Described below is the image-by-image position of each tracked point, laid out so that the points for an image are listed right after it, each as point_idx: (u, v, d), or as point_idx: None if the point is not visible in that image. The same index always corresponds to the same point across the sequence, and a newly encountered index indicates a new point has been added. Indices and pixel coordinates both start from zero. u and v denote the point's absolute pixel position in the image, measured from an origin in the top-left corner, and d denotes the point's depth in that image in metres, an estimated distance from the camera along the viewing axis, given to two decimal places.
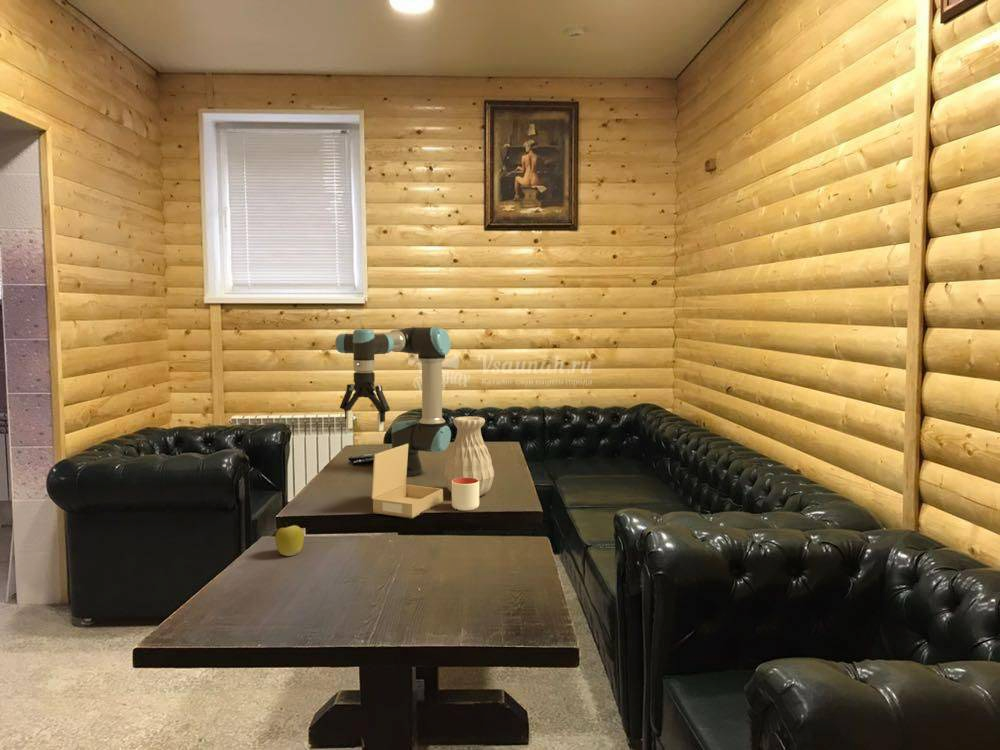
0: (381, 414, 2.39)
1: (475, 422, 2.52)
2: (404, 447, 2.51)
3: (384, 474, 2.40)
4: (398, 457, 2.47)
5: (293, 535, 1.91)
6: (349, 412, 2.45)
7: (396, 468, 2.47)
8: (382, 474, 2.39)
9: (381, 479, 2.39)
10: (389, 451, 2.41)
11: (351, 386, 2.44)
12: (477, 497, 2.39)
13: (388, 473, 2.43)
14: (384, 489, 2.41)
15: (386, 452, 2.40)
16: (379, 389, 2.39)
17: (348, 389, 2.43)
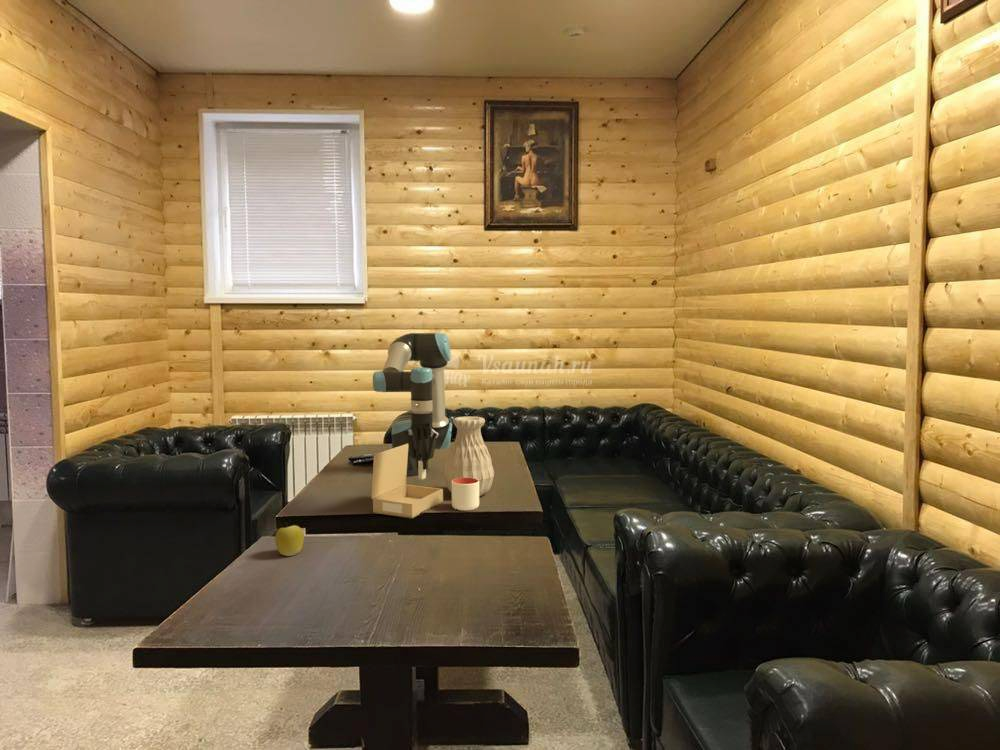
0: (424, 461, 2.33)
1: (475, 422, 2.52)
2: (404, 447, 2.51)
3: (384, 474, 2.40)
4: (398, 457, 2.47)
5: (293, 535, 1.91)
6: None
7: (396, 468, 2.47)
8: (382, 474, 2.39)
9: (381, 479, 2.39)
10: (389, 451, 2.41)
11: (409, 431, 2.34)
12: (477, 497, 2.39)
13: (388, 473, 2.43)
14: (384, 489, 2.41)
15: (386, 452, 2.40)
16: (435, 437, 2.30)
17: (408, 435, 2.34)
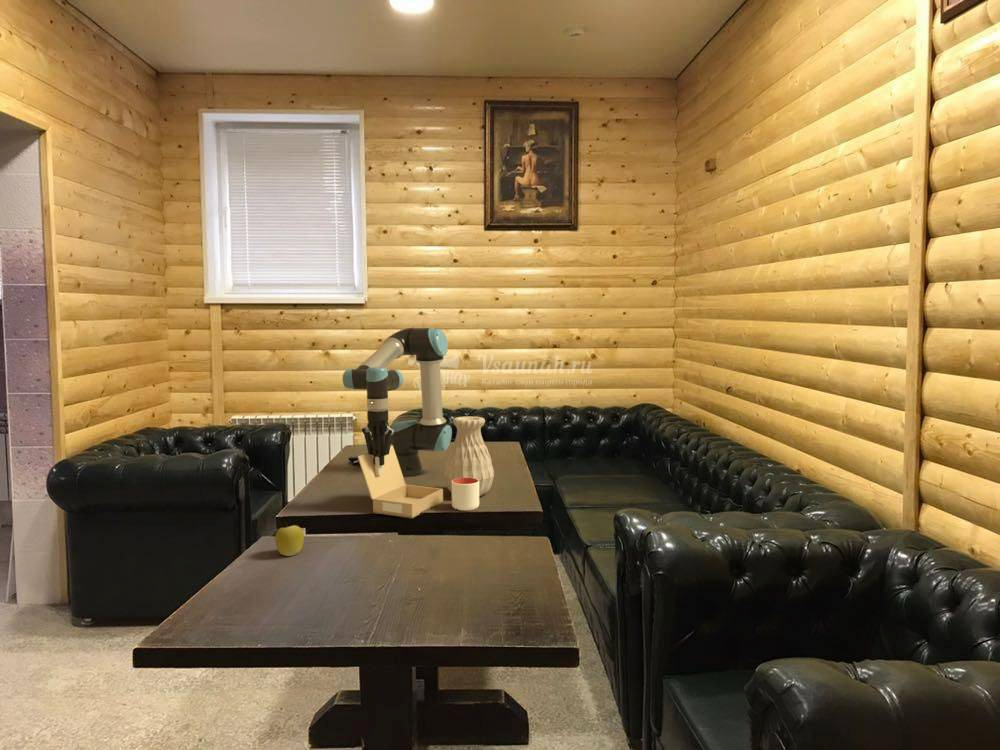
0: (380, 458, 2.40)
1: (475, 422, 2.52)
2: None
3: (376, 475, 2.41)
4: (385, 458, 2.50)
5: (293, 535, 1.91)
6: None
7: (388, 469, 2.49)
8: (374, 474, 2.40)
9: (375, 479, 2.40)
10: None
11: (366, 428, 2.42)
12: (477, 497, 2.39)
13: (381, 474, 2.44)
14: (382, 489, 2.42)
15: None
16: (391, 434, 2.38)
17: (365, 432, 2.41)
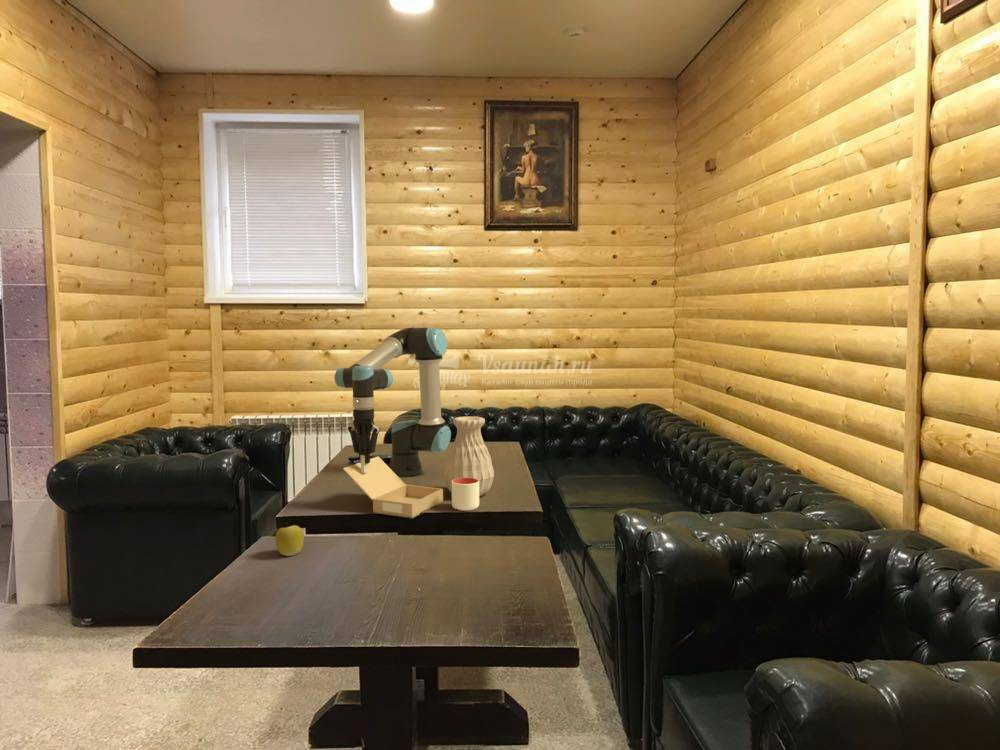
0: (366, 456, 2.42)
1: (475, 422, 2.52)
2: (375, 459, 2.56)
3: (370, 480, 2.43)
4: (374, 466, 2.52)
5: (293, 535, 1.91)
6: None
7: (381, 474, 2.50)
8: (367, 480, 2.42)
9: (369, 484, 2.41)
10: (359, 463, 2.47)
11: (351, 426, 2.44)
12: (477, 497, 2.39)
13: (374, 479, 2.45)
14: (381, 491, 2.42)
15: (356, 465, 2.45)
16: (376, 432, 2.40)
17: (351, 430, 2.44)
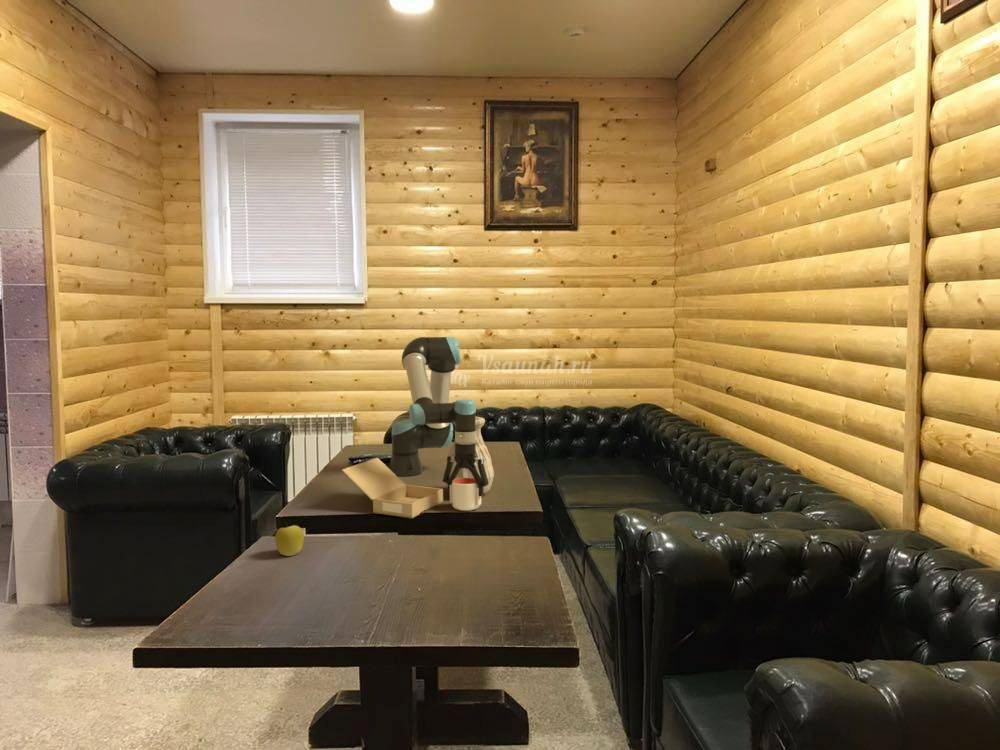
0: (480, 488, 2.38)
1: None
2: (374, 460, 2.56)
3: (369, 481, 2.43)
4: (374, 467, 2.52)
5: (293, 535, 1.91)
6: None
7: (380, 475, 2.50)
8: (366, 481, 2.42)
9: (369, 484, 2.41)
10: (358, 465, 2.48)
11: (451, 458, 2.42)
12: None
13: (374, 479, 2.45)
14: (381, 491, 2.42)
15: (355, 466, 2.46)
16: (481, 462, 2.37)
17: (449, 461, 2.41)
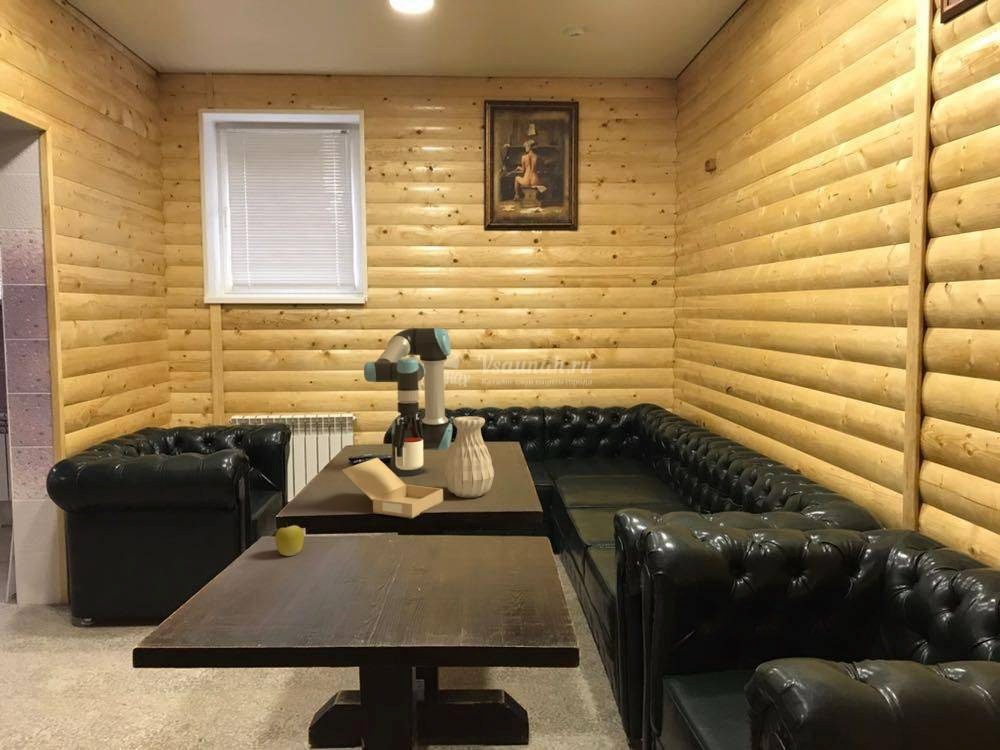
0: None
1: (475, 422, 2.52)
2: (374, 460, 2.56)
3: (369, 481, 2.43)
4: (374, 467, 2.52)
5: (293, 535, 1.91)
6: None
7: (380, 475, 2.50)
8: (366, 481, 2.42)
9: (369, 484, 2.41)
10: (358, 465, 2.48)
11: None
12: None
13: (374, 479, 2.45)
14: (381, 491, 2.42)
15: (355, 466, 2.46)
16: (396, 422, 2.33)
17: None
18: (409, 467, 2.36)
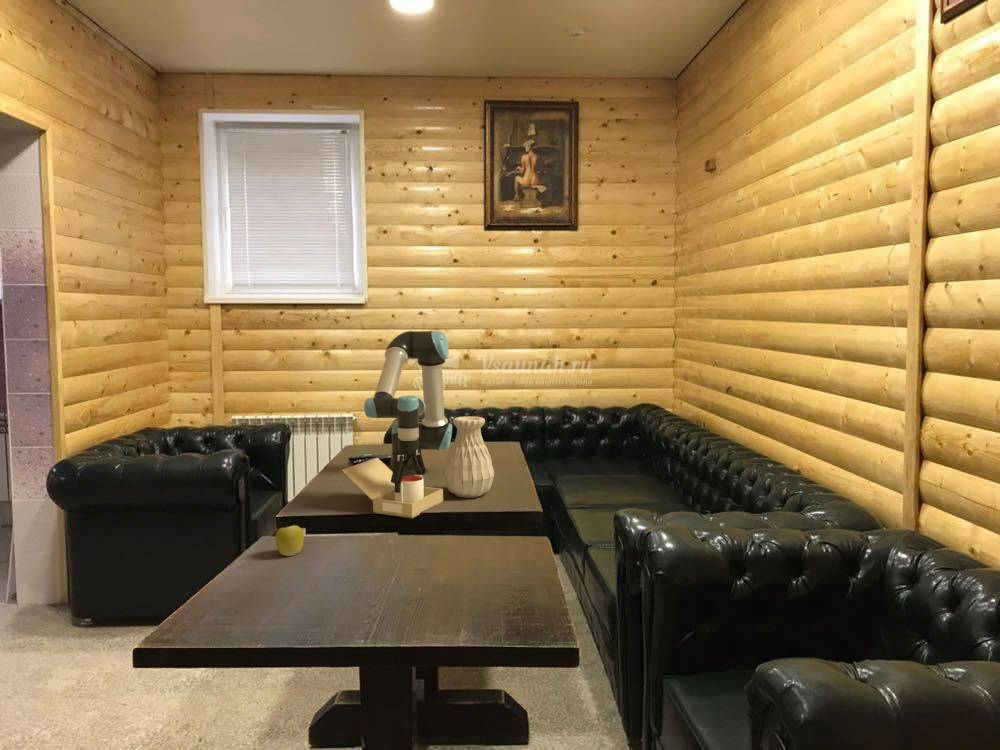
0: None
1: (475, 422, 2.52)
2: (374, 460, 2.56)
3: (369, 481, 2.43)
4: (374, 467, 2.52)
5: (293, 535, 1.91)
6: None
7: (380, 475, 2.50)
8: (366, 481, 2.42)
9: (369, 484, 2.41)
10: (358, 465, 2.48)
11: None
12: None
13: (374, 479, 2.45)
14: (381, 491, 2.42)
15: (355, 466, 2.46)
16: (397, 459, 2.34)
17: None
18: None
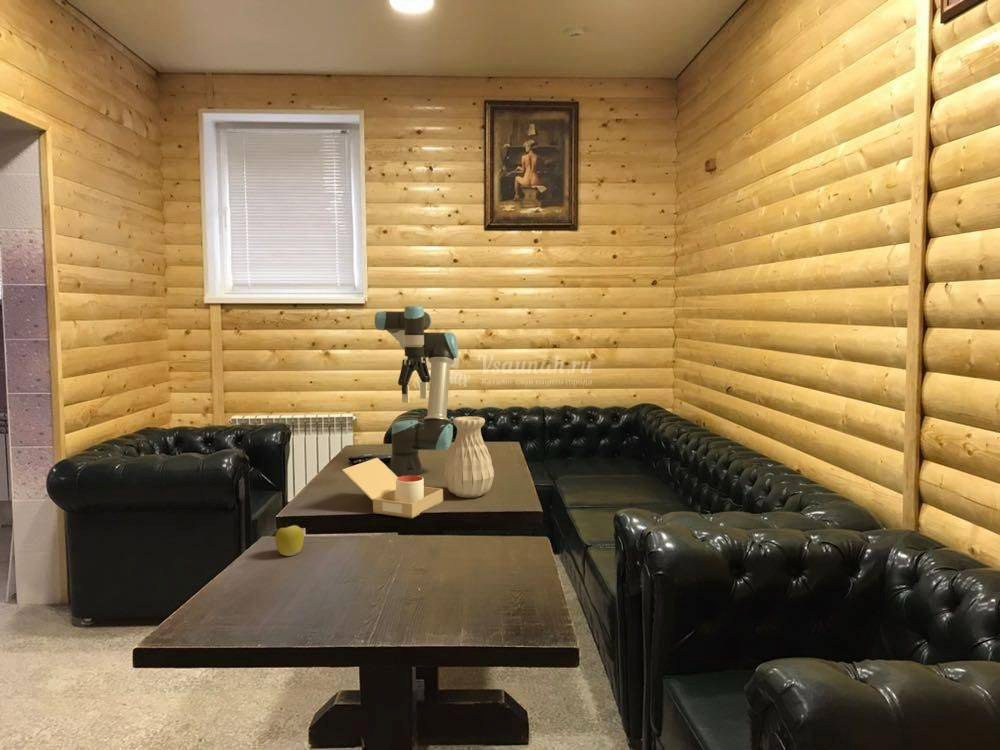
0: None
1: (475, 422, 2.52)
2: (374, 460, 2.56)
3: (369, 481, 2.43)
4: (374, 467, 2.52)
5: (293, 535, 1.91)
6: (422, 383, 2.64)
7: (380, 475, 2.50)
8: (366, 481, 2.42)
9: (369, 484, 2.41)
10: (358, 465, 2.48)
11: None
12: (401, 496, 2.37)
13: (374, 479, 2.45)
14: (381, 491, 2.42)
15: (355, 466, 2.46)
16: (403, 362, 2.51)
17: None
18: None
